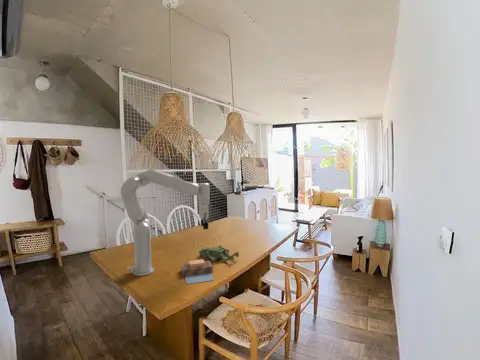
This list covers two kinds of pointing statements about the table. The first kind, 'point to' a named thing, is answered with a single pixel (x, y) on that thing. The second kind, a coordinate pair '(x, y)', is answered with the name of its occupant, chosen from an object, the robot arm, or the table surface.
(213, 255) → the toy
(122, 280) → the table surface
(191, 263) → the tan flat block
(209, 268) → the plate
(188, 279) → the mat
